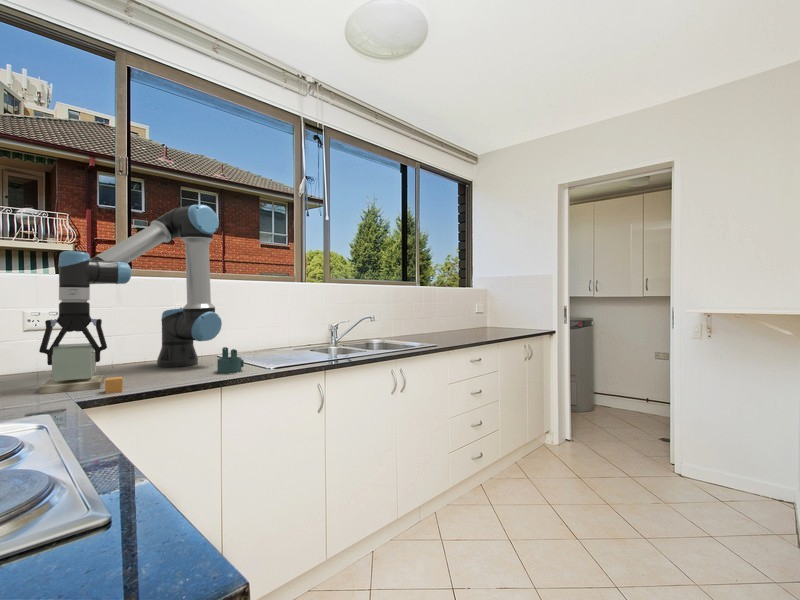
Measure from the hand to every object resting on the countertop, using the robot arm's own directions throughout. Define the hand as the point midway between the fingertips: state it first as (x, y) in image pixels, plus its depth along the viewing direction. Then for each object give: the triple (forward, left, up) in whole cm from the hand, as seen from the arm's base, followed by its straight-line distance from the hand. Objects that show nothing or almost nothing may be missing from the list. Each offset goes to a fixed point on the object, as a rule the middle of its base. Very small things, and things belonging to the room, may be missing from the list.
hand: (74, 374), depth 128 cm
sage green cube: (0, 0, -1) cm, 1 cm away
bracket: (-46, -4, -4) cm, 46 cm away
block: (-11, +14, -4) cm, 18 cm away
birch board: (0, 0, -4) cm, 4 cm away
